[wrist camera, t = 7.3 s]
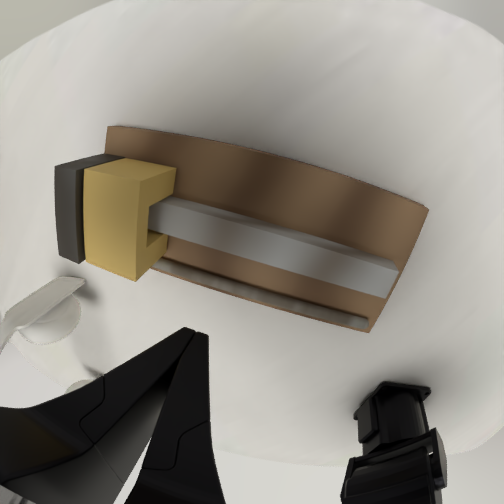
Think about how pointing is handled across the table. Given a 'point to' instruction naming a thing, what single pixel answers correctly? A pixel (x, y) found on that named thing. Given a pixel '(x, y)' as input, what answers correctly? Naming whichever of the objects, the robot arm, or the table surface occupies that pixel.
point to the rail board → (281, 206)
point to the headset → (45, 316)
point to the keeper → (124, 215)
